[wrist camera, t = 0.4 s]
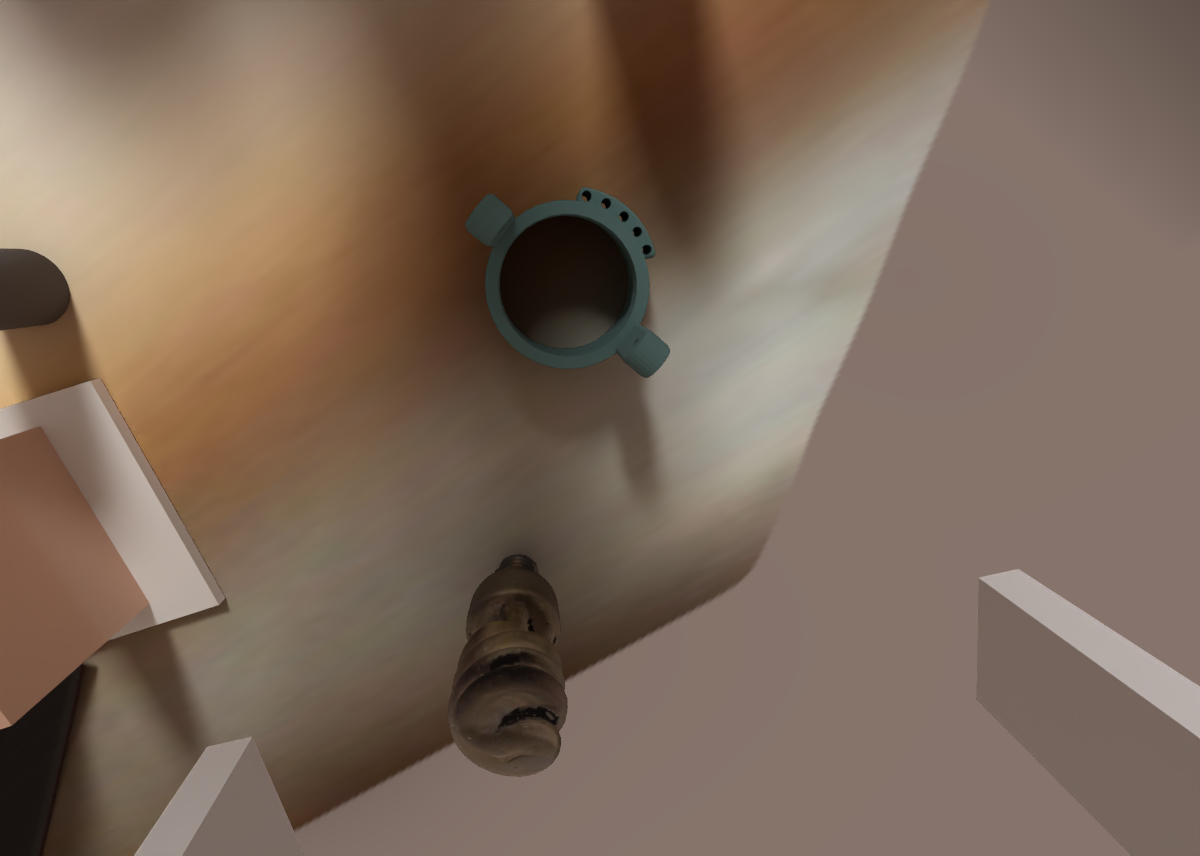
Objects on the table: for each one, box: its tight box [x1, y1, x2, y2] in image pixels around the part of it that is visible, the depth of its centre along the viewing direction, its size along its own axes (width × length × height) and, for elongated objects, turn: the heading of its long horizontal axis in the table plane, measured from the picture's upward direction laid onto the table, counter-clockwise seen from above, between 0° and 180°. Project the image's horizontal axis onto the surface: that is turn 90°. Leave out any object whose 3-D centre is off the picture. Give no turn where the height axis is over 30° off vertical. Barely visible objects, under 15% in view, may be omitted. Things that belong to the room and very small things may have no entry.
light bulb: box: [448, 555, 567, 777], centre depth 32 cm, size 6×6×15 cm
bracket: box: [465, 187, 670, 378], centre depth 30 cm, size 9×9×9 cm
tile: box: [0, 426, 150, 729], centre depth 30 cm, size 12×2×10 cm, turn 17°
